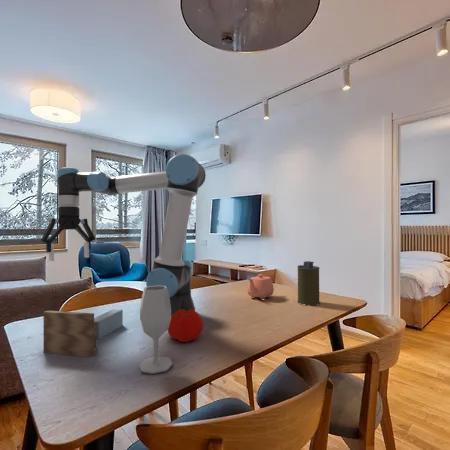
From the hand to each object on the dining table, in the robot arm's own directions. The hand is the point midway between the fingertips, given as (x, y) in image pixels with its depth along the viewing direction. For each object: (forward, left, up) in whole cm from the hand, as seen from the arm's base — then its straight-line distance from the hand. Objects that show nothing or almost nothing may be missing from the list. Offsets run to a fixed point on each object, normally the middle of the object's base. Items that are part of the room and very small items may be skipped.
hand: (69, 259), depth 118 cm
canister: (-96, -45, -25) cm, 109 cm away
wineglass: (-52, +30, -25) cm, 65 cm away
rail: (-23, +9, -25) cm, 35 cm away
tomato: (-53, +10, -25) cm, 59 cm away
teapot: (-72, -51, -25) cm, 91 cm away
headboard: (-23, +25, -25) cm, 42 cm away
